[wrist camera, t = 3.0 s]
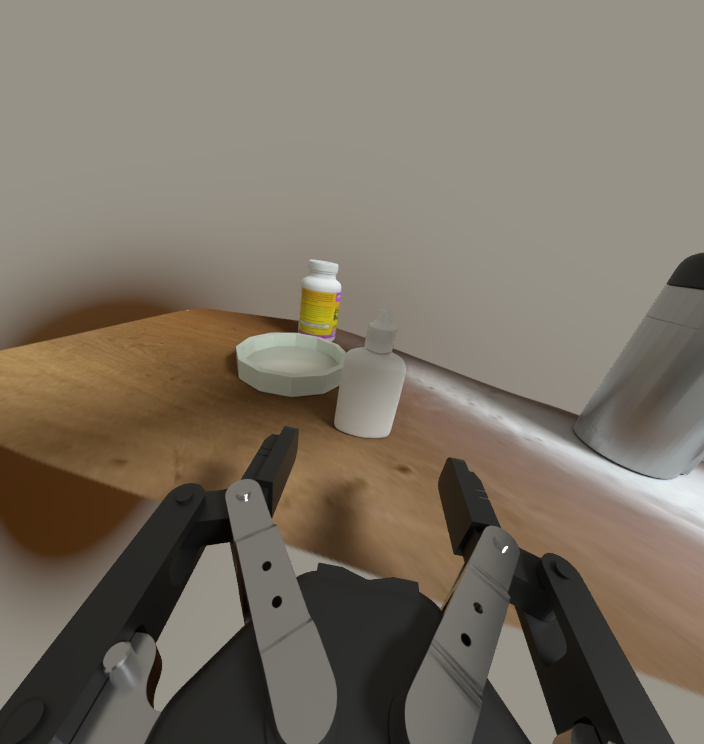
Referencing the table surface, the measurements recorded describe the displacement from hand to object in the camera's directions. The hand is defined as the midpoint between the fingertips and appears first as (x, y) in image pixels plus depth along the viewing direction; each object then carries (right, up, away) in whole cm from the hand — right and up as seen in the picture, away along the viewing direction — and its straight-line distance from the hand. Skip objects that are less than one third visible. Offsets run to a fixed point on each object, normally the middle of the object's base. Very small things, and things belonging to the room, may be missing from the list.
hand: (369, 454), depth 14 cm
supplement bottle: (-7, +10, +34) cm, 36 cm away
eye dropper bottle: (0, -1, +13) cm, 13 cm away
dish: (-9, +5, +22) cm, 24 cm away
